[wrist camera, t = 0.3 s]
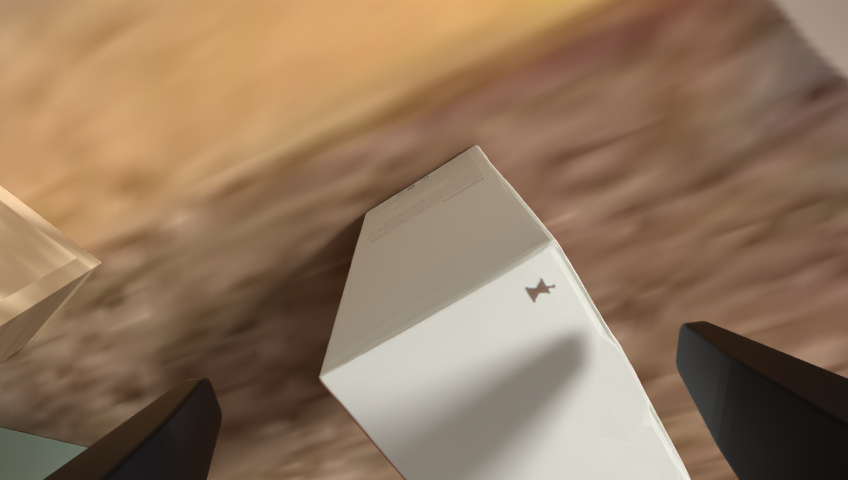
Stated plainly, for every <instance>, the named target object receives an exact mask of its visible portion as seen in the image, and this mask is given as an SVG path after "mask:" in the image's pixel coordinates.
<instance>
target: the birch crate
mask: <svg viewBox="0 0 848 480" xmlns="http://www.w3.org/2000/svg"><path fill="white" fill-rule="evenodd" d="M101 263H102V262H100V261H99V260H98V259H96V258H95V257H94V256H92V255H91V254H90V253H89V252H87V251H86V250H85V249H83V248H82V247H81V246H79V245H78V244H77V243H75V242H74V241H73V240H71V239H70V238H69V237H67V236H66V235H65V234H63V233H62V232H61V231H59V230H58V229H57V228H55V227H54V226H53V225H51V224H50V223H49V222H47V221H46V220H45V219H44V218H42V217H41V216H40V215H38V214H37V213H36V212H34V211H33V210H32V209H30V208H29V207H28V206H26V205H25V204H24V203H22V202H21V201H20V200H18V199H17V198H16V197H14V196H13V195H12V194H10V193H9V192H8V191H6V190H5V189H4V188H3V187H1V186H0V363H2V362H3V361H4V360H6V359H7V358H9V357H10V356H11V355H13V354H14V353H16V352H17V351H18V350H20V349H21V348H23V347H24V346H25V345H27V344H28V343H30V342H31V341H32V340H34V339H35V338H36V337H37V336H38V335H39V334H40V333H41V332H42V331H43V330H44V328H45V327H46V326H47V325H48V324H49V323H50V322H51V320H52V319H53V318H54V317H55V316H56V315H57V314H58V312H59V311H60V310H61V309H62V308H63V307H64V306H65V304H66V303H67V302H68V301H69V300H70V299H71V298H72V296H73V295H74V294H75V293H76V292H77V291H78V290H79V288H80V287H81V286H82V285H83V284H84V283H85V282H86V280H87V279H88V278H89V277H90V276H91V275H92V274H93V272H94V271H95V270H96V269H97V268H98V267H99V266H100V264H101Z"/></svg>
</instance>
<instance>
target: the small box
mask: <svg viewBox="0 0 848 480" xmlns="http://www.w3.org/2000/svg"><path fill="white" fill-rule="evenodd" d="M319 380H320V382H321V383H322V384H323V386H324V387H325V388H326V389H327V390H328V391H329V392H330V394H331V395H332V396H333V397H334V398H335V399H336V401H337V402H338V403H339V404H340V405H341V406H342V408H343V409H344V410H345V411H346V412H347V413H348V415H349V416H350V417H351V418H352V419H353V420H354V422H355V423H356V424H357V425H358V426H359V427H360V429H361V430H362V431H363V432H364V433H365V435H366V436H367V437H368V438H369V439H370V440H371V442H372V443H373V444H374V445H375V446H376V448H377V449H378V450H379V451H380V452H381V453H382V455H383V456H384V457H385V458H386V459H387V460H388V461H389V463H390V464H391V465H392V466H393V467H394V468H395V469H396V471H397V472H398V473H399V474H400V475H401V476H402V478H403V479H404V480H690V476H689V474H688V472H687V470H686V468H685V466H684V464H683V462H682V460H681V459H680V457H679V455H678V453H677V451H676V449H675V447H674V445H673V444H672V442H671V440H670V438H669V436H668V434H667V432H666V431H665V429H664V427H663V425H662V423H661V421H660V419H659V417H658V415H657V414H656V412H655V410H654V408H653V406H652V404H651V402H650V400H649V398H648V397H647V395H646V393H645V391H644V389H643V387H642V385H641V383H640V381H639V379H638V377H637V375H636V373H635V371H634V369H633V367H632V366H631V364H630V362H629V361H628V359H627V357H626V355H625V354H624V352H623V350H622V347H621V346H620V344H619V343H618V341H617V340H616V339H615V337H614V336H613V335H612V333H611V331H610V330H609V328H608V326H607V325H606V323H605V322H604V320H603V318H602V317H601V315H600V313H599V312H598V310H597V308H596V306H595V305H594V303H593V301H592V300H591V298H590V296H589V294H588V293H587V291H586V289H585V287H584V286H583V284H582V282H581V281H580V279H579V277H578V275H577V274H576V272H575V270H574V269H573V267H572V265H571V264H570V262H569V260H568V259H567V257H566V255H565V254H564V252H563V250H562V248H561V247H560V245H559V244H558V242H557V241H556V239H555V238H554V237H553V236H552V234H551V233H550V232H549V231H548V230H547V229H546V227H545V226H544V225H543V223H542V222H541V221H540V220H539V219H538V217H537V216H536V215H535V214H534V213H533V211H532V210H531V209H530V208H529V207H528V206H527V204H526V203H525V202H524V201H523V200H522V198H521V197H520V196H519V195H518V193H517V192H516V191H515V190H514V189H513V188H512V186H511V185H510V184H509V183H508V182H507V181H506V180H505V179H504V178H503V176H502V175H501V174H500V173H499V172H498V171H497V170H496V168H495V167H494V166H493V165H492V164H491V162H490V161H489V160H488V158H487V157H486V155H485V154H484V153H483V152H482V150H481V149H480V148H479V146H478V145H475V146H473V147H471V148H470V149H468V150H467V151H465V152H464V153H462V154H460V155H459V156H457V157H456V158H454V159H452V160H451V161H449V162H447V163H446V164H444V165H442V166H441V167H439V168H438V169H436V170H435V171H433V172H431V173H430V174H428V175H427V176H425V177H424V178H422V179H420V180H419V181H417V182H415V183H414V184H412V185H411V186H409V187H407V188H406V189H404V190H402V191H401V192H399V193H398V194H396V195H394V196H393V197H391V198H389V199H388V200H386V201H384V202H383V203H381V204H380V205H378V206H376V207H375V208H373V209H371V210H370V211H368V212H367V213H366V215H365V218H364V222H363V225H362V229H361V232H360V236H359V239H358V242H357V245H356V249H355V252H354V256H353V259H352V263H351V267H350V270H349V274H348V277H347V280H346V284H345V288H344V291H343V295H342V299H341V302H340V306H339V309H338V312H337V316H336V319H335V323H334V326H333V330H332V334H331V337H330V340H329V344H328V348H327V352H326V355H325V358H324V361H323V365H322V369H321V372H320V375H319Z"/></svg>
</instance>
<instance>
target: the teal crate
mask: <svg viewBox="0 0 848 480" xmlns="http://www.w3.org/2000/svg"><path fill="white" fill-rule="evenodd" d="M85 449H87V447H83V446H79V445H75V444H70V443H66V442H62V441H57V440H53V439H49V438H44V437H40V436H36V435H31V434H27V433H23V432H18V431H14V430H10V429H5V428H1V427H0V480H43V479H44V478H46V477H47V476H48V475H50V474H51V473H53V472H54V471H56V470H57V469H58V468H60V467H61V466H63V465H64V464H66V463H67V462H68V461H70V460H71V459H73V458H74V457H76V456H77V455H78V454H80V453H81V452H83V451H84V450H85Z"/></svg>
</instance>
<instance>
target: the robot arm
mask: <svg viewBox="0 0 848 480" xmlns="http://www.w3.org/2000/svg"><path fill="white" fill-rule="evenodd" d="M676 365H677V369H678V372H679V374H680V376H681V378H682V380H683V382H684V384H685V386H686V388H687V389H688V391H689V393H690V395H691V397H692V399H693V401H694V403H695V405H696V407H697V409H698V411H699V413H700V415H701V416H702V418H703V420H704V422H705V424H706V426H707V428H708V430H709V432H710V434H711V436H712V437H713V439H714V441H715V443H716V445H717V446H718V448H719V449H720V451H721V453H722V454H723V456H724V457H725V459H726V460H727V462H728V463H729V465H730V467H731V468H732V470H733V471H734V473H735V474H736V476H737V477H738V479H739V480H848V378H845V377H843V376H840V375H838V374H835V373H833V372H830V371H828V370H825V369H823V368H820V367H818V366H815V365H813V364H810V363H808V362H805V361H803V360H800V359H798V358H795V357H793V356H790V355H788V354H785V353H783V352H780V351H778V350H776V349H773V348H771V347H768V346H766V345H763V344H761V343H758V342H756V341H753V340H751V339H748V338H746V337H743V336H741V335H738V334H736V333H733V332H731V331H728V330H726V329H723V328H721V327H718V326H716V325H713V324H711V323H709V322H705V321H700V322H691V323H684V324H683V325H682V326H681V327H680V330H679V336H678V344H677V353H676ZM221 420H222V414H221V409H220V406H219V404H218V401H217V398H216V395H215V393H214V390H213V387H212V384H211V382H210V381H209V380H208V379H207V378H195V379H187V380H184V381H182V382H181V383H179V384H178V385H177V386H175V387H174V388H172V389H171V390H169V391H168V392H167V393H165V394H164V395H162V396H161V397H159V398H158V399H157V400H155V401H154V402H152V403H151V404H150V405H148V406H147V407H145V408H144V409H142V410H141V411H140V412H138V413H137V414H135V415H134V416H132V417H131V418H130V419H128V420H127V421H125V422H124V423H122V424H121V425H120V426H118V427H117V428H115V429H114V430H113V431H111V432H110V433H108V434H107V435H105V436H104V437H103V438H101V439H100V440H98V441H97V442H95V443H94V444H93V445H91V446H90V447H88V448H87V449H85V450H84V451H83V452H81V453H80V454H78V455H77V456H76V457H74V458H73V459H71V460H70V461H68V462H67V463H66V464H64V465H63V466H61V467H60V468H58V469H57V470H56V471H54V472H53V473H51V474H50V475H48V476H47V477H46V478H44V479H43V480H207V477H208V473H209V469H210V465H211V461H212V457H213V453H214V449H215V445H216V442H217V438H218V434H219V430H220V426H221Z"/></svg>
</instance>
